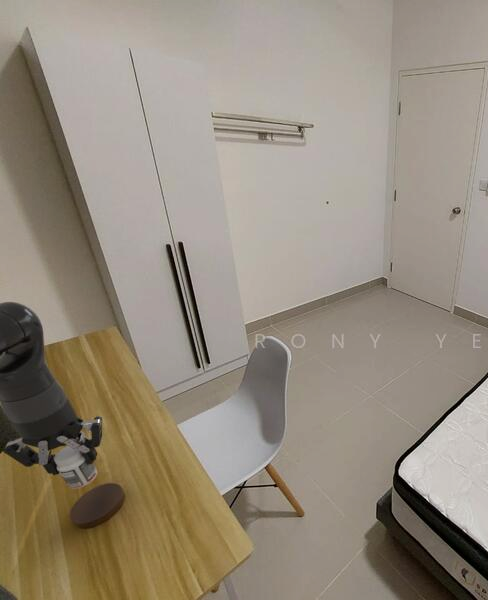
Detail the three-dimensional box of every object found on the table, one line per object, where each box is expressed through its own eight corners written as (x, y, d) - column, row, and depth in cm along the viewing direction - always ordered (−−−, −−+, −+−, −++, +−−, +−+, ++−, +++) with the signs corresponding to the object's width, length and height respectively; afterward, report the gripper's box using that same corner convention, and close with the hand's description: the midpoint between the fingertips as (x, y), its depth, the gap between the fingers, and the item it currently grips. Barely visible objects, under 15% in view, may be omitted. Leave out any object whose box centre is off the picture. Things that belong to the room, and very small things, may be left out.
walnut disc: (67, 536, 69) (64, 531, 68) (79, 498, 76) (76, 493, 75) (121, 516, 73) (118, 511, 72) (127, 482, 80) (125, 476, 79)
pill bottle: (93, 464, 73) (79, 438, 69) (101, 476, 70) (86, 450, 66) (65, 480, 69) (48, 454, 65) (72, 494, 67) (55, 467, 63)
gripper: (94, 382, 66) (121, 439, 74) (-8, 404, 59) (34, 465, 67) (84, 407, 60) (115, 466, 68) (-30, 435, 54) (19, 497, 62)
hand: (75, 465), depth 68 cm, fingers closed on pill bottle, 4 cm apart
